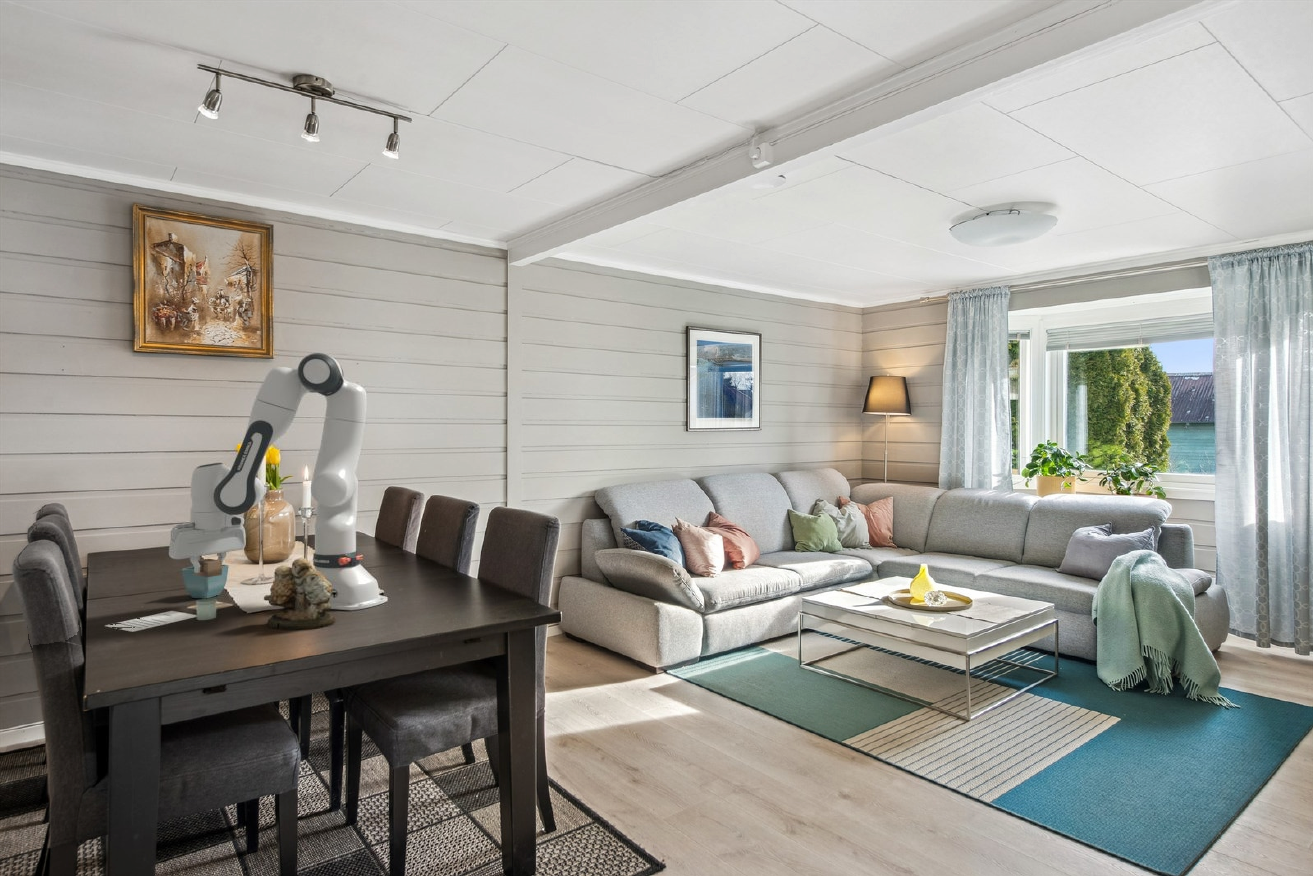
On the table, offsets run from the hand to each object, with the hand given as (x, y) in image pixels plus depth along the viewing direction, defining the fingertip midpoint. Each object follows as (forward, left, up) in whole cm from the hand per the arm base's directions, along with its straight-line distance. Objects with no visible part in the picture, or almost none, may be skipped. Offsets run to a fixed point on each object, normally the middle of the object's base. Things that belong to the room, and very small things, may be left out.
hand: (208, 570), depth 212 cm
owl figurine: (-36, 0, -11) cm, 38 cm away
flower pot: (+14, -8, -11) cm, 19 cm away
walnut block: (0, 0, -1) cm, 1 cm away
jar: (-11, +8, -11) cm, 17 cm away
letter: (-1, +16, -11) cm, 19 cm away
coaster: (0, 0, -11) cm, 11 cm away
